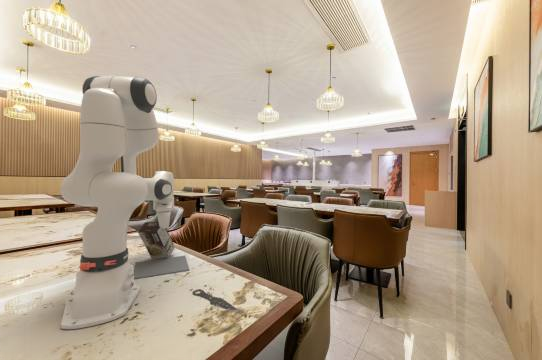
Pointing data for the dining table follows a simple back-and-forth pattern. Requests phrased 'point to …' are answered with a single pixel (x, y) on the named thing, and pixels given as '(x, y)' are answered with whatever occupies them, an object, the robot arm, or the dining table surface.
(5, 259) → the dining table surface
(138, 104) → the robot arm
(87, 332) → the dining table surface
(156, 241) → the coffee box
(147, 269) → the mat
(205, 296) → the throwing knife
